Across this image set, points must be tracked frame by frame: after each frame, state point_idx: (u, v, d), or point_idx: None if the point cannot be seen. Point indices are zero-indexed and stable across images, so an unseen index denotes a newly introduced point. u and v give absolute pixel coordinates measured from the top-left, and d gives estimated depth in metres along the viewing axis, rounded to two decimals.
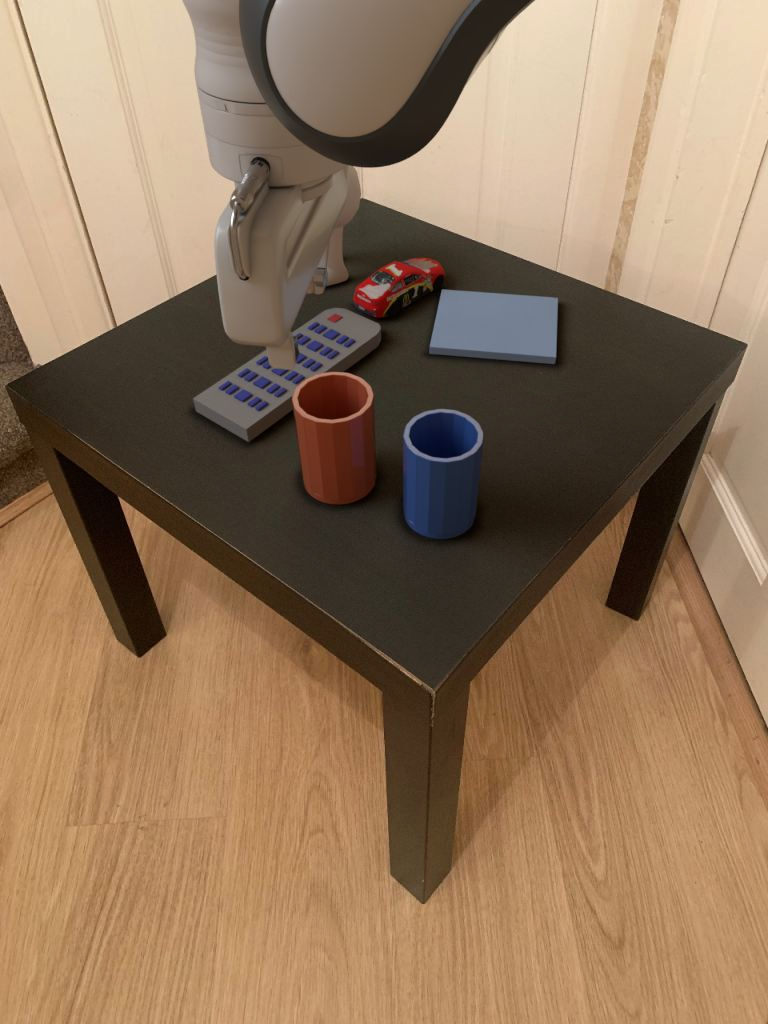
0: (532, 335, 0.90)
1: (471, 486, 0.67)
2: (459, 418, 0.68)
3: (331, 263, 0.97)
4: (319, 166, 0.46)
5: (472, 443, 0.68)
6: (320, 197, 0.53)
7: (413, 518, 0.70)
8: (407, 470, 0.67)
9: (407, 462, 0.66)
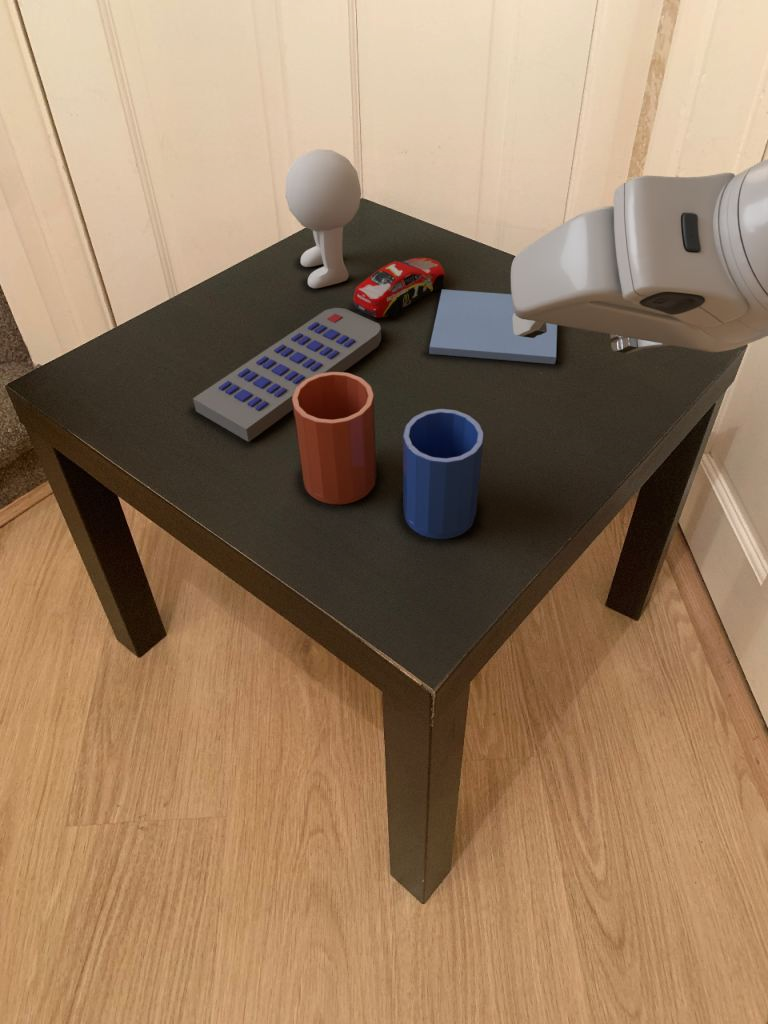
0: None
1: (471, 486, 0.67)
2: (459, 418, 0.68)
3: (331, 263, 0.97)
4: None
5: (472, 443, 0.68)
6: None
7: (413, 518, 0.70)
8: (407, 470, 0.67)
9: (407, 462, 0.66)
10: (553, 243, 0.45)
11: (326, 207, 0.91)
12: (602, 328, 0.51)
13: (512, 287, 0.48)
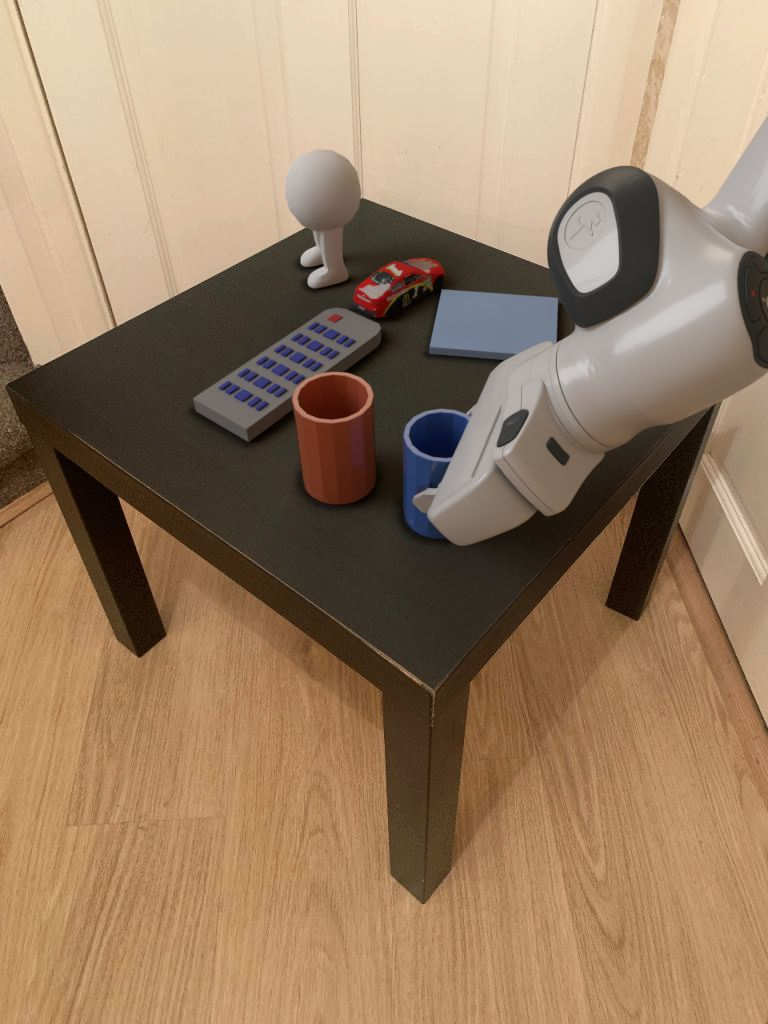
0: (532, 335, 0.90)
1: None
2: (459, 418, 0.68)
3: (331, 263, 0.97)
4: None
5: None
6: (488, 436, 0.61)
7: (413, 518, 0.70)
8: (407, 470, 0.67)
9: (407, 462, 0.66)
10: (467, 506, 0.56)
11: (326, 207, 0.91)
12: None
13: (445, 535, 0.59)
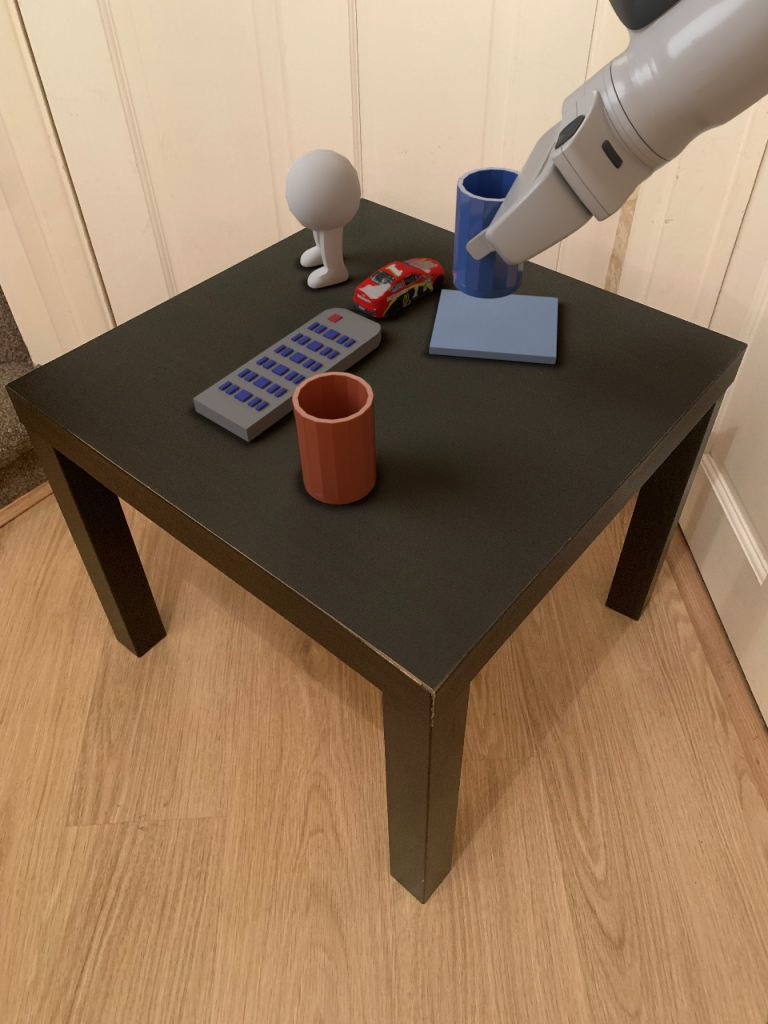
0: (532, 335, 0.90)
1: None
2: (509, 175, 0.71)
3: (331, 263, 0.97)
4: None
5: None
6: (542, 167, 0.65)
7: (463, 277, 0.74)
8: (460, 221, 0.71)
9: (460, 211, 0.70)
10: (526, 212, 0.60)
11: (326, 207, 0.91)
12: None
13: (503, 251, 0.63)
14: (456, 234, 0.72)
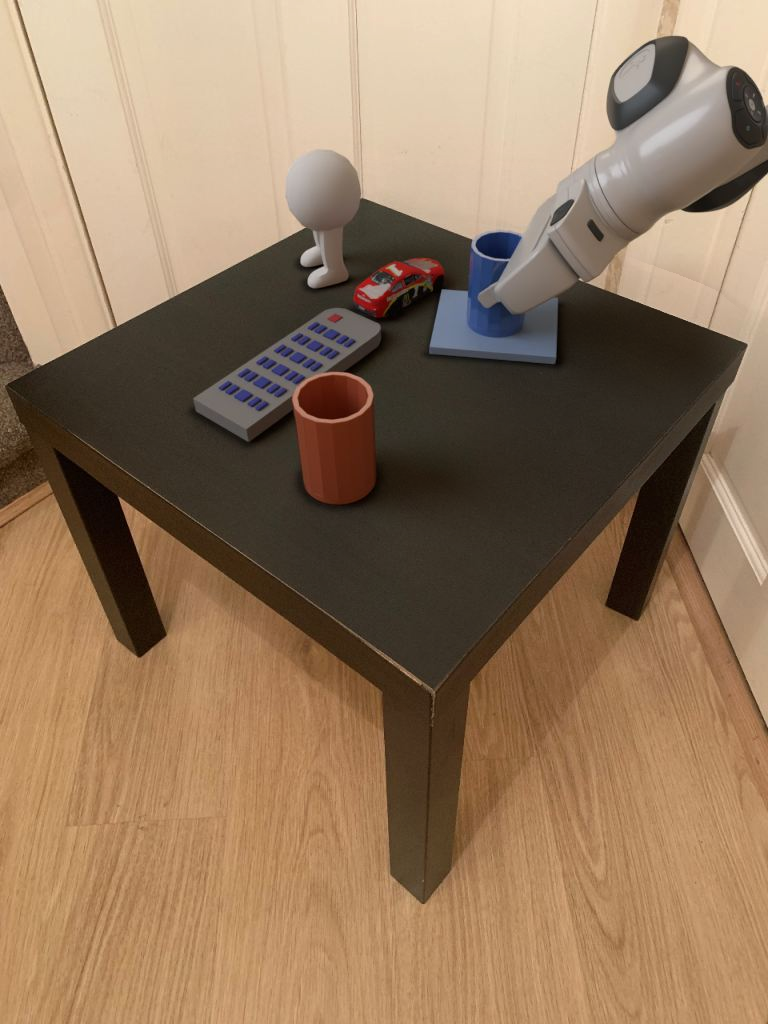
0: (532, 335, 0.90)
1: None
2: (513, 236, 0.87)
3: (331, 263, 0.97)
4: None
5: None
6: (540, 236, 0.80)
7: (475, 320, 0.89)
8: (473, 275, 0.86)
9: (473, 267, 0.85)
10: (526, 274, 0.75)
11: (326, 207, 0.91)
12: None
13: (508, 304, 0.78)
14: (470, 285, 0.88)
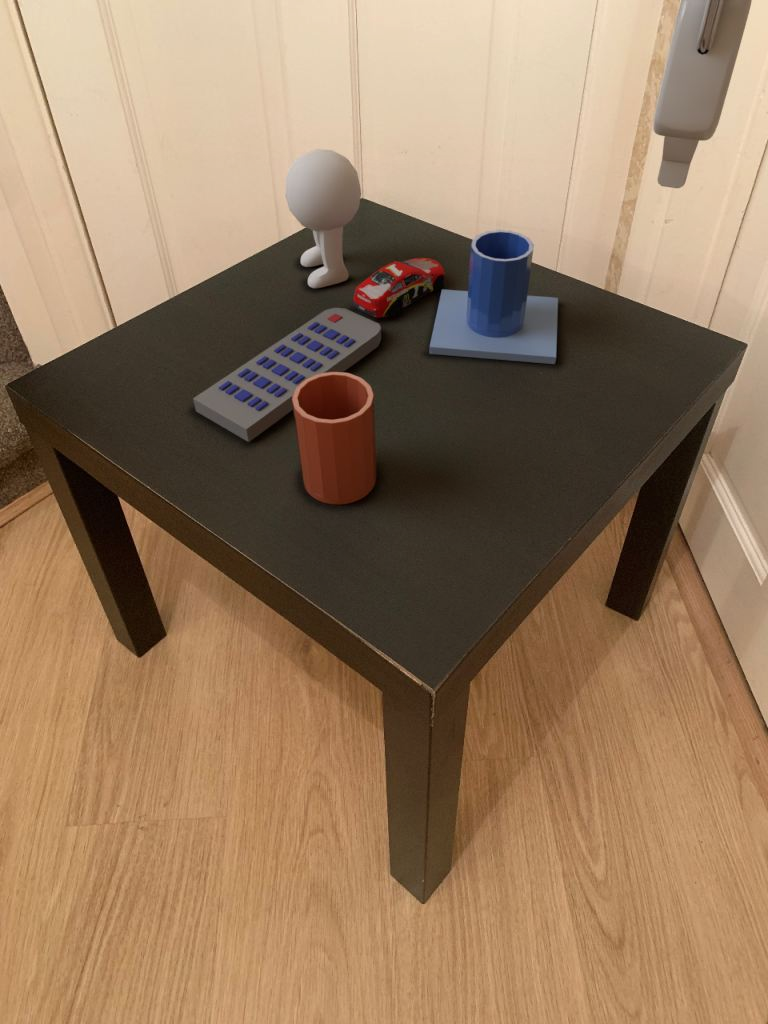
0: (532, 335, 0.90)
1: (523, 288, 0.86)
2: (513, 237, 0.87)
3: (331, 263, 0.97)
4: None
5: None
6: None
7: (475, 320, 0.89)
8: (473, 275, 0.86)
9: (474, 267, 0.85)
10: None
11: (326, 207, 0.91)
12: None
13: None
14: (470, 285, 0.88)
